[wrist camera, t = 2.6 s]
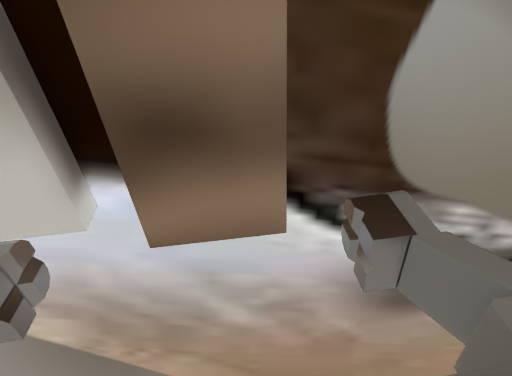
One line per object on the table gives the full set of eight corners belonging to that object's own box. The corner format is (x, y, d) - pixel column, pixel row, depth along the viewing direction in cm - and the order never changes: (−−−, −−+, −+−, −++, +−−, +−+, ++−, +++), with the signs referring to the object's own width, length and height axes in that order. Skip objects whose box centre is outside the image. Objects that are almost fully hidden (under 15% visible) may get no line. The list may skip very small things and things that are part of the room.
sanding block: (102, -37, 12) (46, -27, 8) (263, -49, 12) (286, -44, 8) (164, 181, 18) (150, 248, 14) (270, 169, 18) (286, 232, 14)
